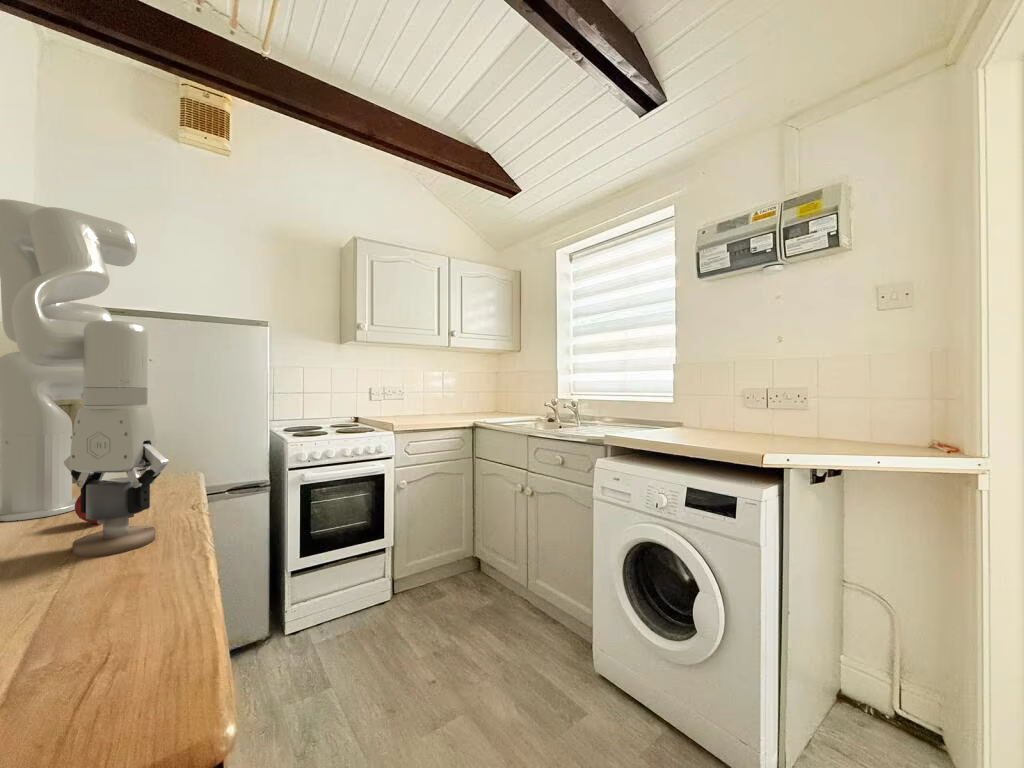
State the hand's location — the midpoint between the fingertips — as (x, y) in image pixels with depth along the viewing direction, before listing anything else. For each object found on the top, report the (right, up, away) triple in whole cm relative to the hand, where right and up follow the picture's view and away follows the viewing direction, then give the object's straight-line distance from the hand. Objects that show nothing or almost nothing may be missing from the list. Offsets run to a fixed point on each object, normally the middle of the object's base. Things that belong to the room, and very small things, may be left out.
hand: (115, 509), depth 67 cm
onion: (-13, -6, +10) cm, 17 cm away
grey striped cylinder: (0, -1, +1) cm, 1 cm away
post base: (0, -6, 0) cm, 6 cm away
